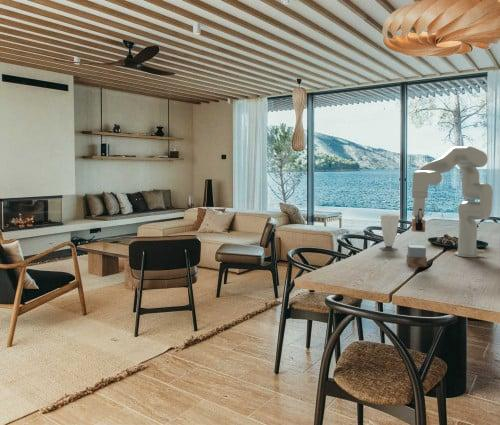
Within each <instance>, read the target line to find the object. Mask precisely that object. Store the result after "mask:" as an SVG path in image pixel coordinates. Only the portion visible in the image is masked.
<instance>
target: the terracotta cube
mask: <svg viewBox="0 0 500 425" xmlns="http://www.w3.org/2000/svg"><path fill="white" fill-rule="evenodd" d="M416 223H417V219H415V218H411V232H414V233H415V232H416V233H417V232H419V233H425V232H426V219H424V218H422V223H423V226H422V231H417V230H416Z"/></svg>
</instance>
